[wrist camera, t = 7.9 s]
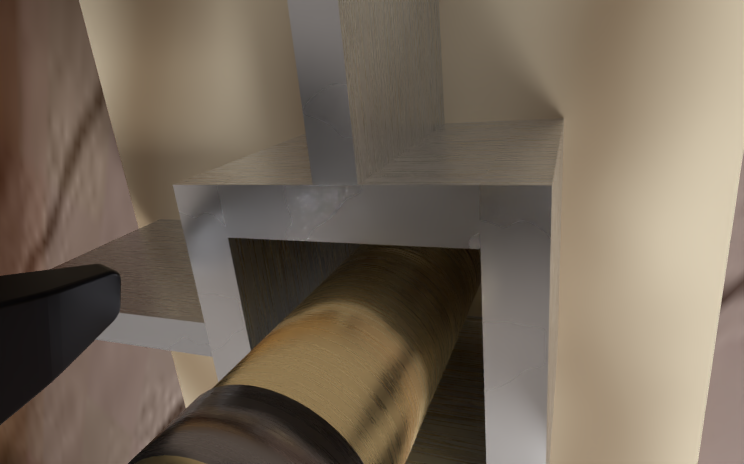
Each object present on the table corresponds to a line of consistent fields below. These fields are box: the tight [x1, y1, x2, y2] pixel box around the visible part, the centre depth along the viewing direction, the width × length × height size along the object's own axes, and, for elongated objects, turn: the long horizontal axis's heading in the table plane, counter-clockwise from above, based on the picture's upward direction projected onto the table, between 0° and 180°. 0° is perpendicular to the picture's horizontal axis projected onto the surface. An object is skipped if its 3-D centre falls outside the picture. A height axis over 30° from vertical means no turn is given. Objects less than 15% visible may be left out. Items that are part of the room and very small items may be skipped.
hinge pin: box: [128, 244, 481, 464], centre depth 10 cm, size 3×3×10 cm
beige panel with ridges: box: [50, 0, 744, 464], centre depth 13 cm, size 18×20×8 cm
